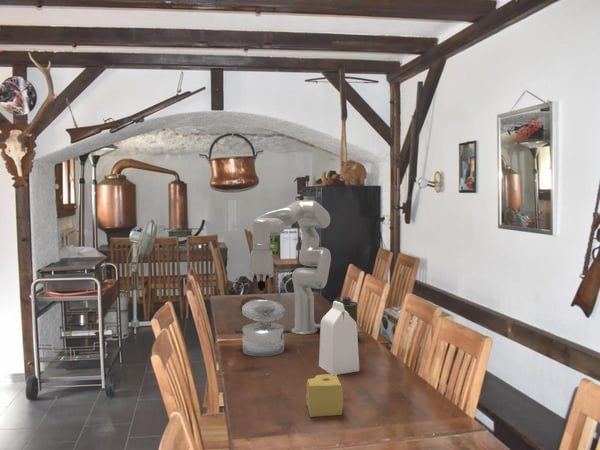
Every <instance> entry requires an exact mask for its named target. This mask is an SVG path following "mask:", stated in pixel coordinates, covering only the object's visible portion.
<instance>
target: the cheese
mask: <svg viewBox="0 0 600 450" xmlns="http://www.w3.org/2000/svg"><path fill="white" fill-rule="evenodd" d="M305 385H306V387H305V388H306V395H305V403H306V406H307V408H308V413H309V416H310V417H311V418H312V417H313V418H314V417H327V416H328V417H330V416H342V413H343V408H344V391H343V387H342V384H341V381H340V380H339V378H338V375H336V374H330V373H328V374H317V375H315V376H314V378H308V379H307V382H306V384H305Z"/></svg>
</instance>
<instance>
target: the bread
mask: <svg viewBox="0 0 600 450" xmlns="http://www.w3.org/2000/svg"><path fill="white" fill-rule="evenodd" d="M253 300H267V299H266V298H263V297H262V296H261V297H260V296H255V295H252V296H249V297H245V298H244V299H242V301H241V302H240V308H241V309H242V307H243V305H244V304H246V303H247V302H250V301H253Z"/></svg>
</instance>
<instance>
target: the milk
mask: <svg viewBox="0 0 600 450" xmlns="http://www.w3.org/2000/svg"><path fill="white" fill-rule="evenodd" d="M320 324H321V328H319V329H320V332H319V336H320V337H319V352H318V353H319V357H318V367H320V368H321V369H322V370H324V371H326V372H327V373H328V374H336V375H337V376H338V375H342V374H349V373H355V372H360V360H359V359H360V358H359V357H360V356H359V342H358V341H359V340H358V339H359V338H358V323H357V324H356V322H355V321H354V319H352V318H351V317H350V316H349V313H348V312H347V311H345V309H344V304H342V303H340V302H339V301H337V300H334V301H333V302H332V306H331V308H330V309H329V311H328V312H326V314H324V315H323V316H322V319H321V320H320Z"/></svg>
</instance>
